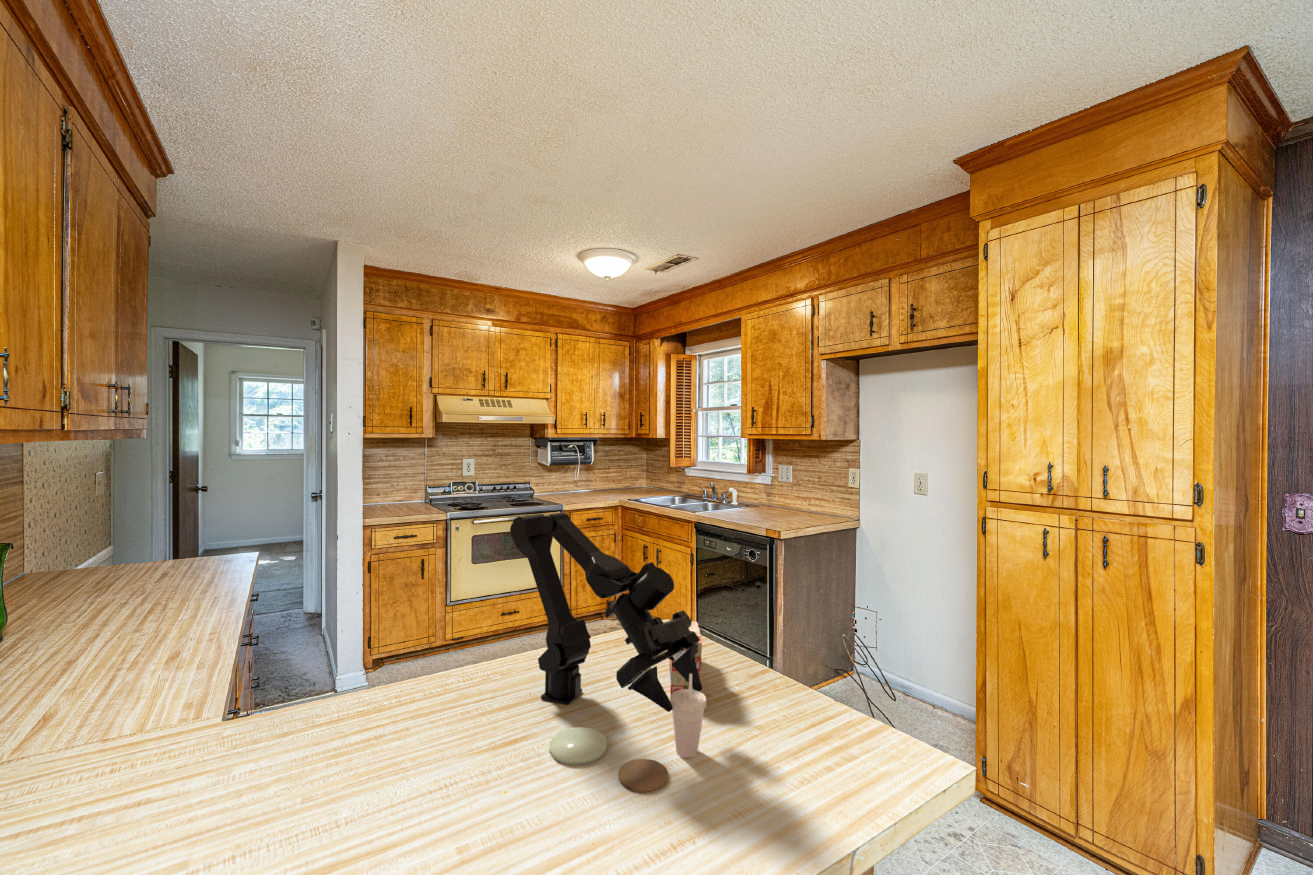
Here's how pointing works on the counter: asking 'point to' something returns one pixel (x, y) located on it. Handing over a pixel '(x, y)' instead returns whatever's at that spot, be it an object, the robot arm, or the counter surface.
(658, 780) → the disc
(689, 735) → the smoothie
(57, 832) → the counter surface
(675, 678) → the stack of blocks
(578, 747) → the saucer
